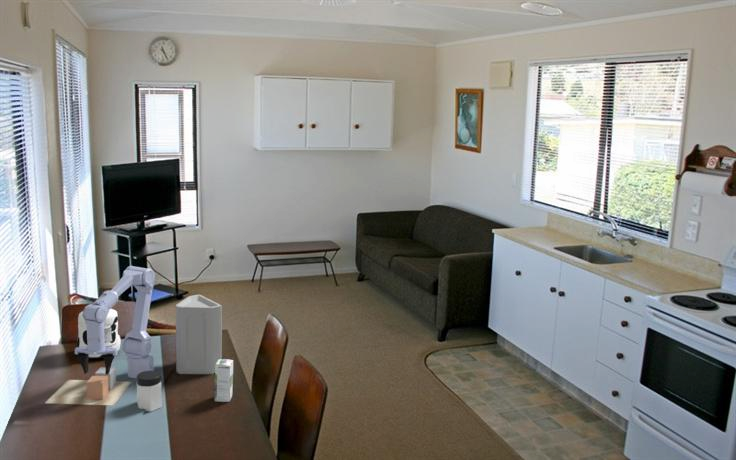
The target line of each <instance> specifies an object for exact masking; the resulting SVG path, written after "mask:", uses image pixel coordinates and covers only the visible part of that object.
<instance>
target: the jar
mask: <svg viewBox="0 0 736 460" xmlns="http://www.w3.org/2000/svg"><path fill="white" fill-rule="evenodd" d="M161 380H162V374H161V372H159V371H157V370H154V371H144V372H141V373H139V374H138V375H137V378H136V404H137V408H138V409H141V410H142V409H143V410H144V412H153V411H156V410H158V409H160V408H162V405H163V403H162V397H163V396H162V381H161Z"/></svg>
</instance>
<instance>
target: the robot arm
mask: <svg viewBox="0 0 736 460" xmlns="http://www.w3.org/2000/svg"><path fill="white" fill-rule="evenodd" d="M155 278H156V274H155V272H154V271H153V269H152V268H149V267H148V268H145V267H140V266H133V265H129V266H127V267H126V268H125V270H124V271H123V273H122V277H121V278H120V279H119V280H118V281H117V283H116V284H115V285H114V286H113V287H112V289H110V290H109V289H108V290H105V291H104V292H102V294H101V295H100V296H99V297H98V298H97V299H96V300H95V301H94V302H92V303H90V304H88V305H86V306H85V307H84V309H83V310H82V312H83V314H82V316H83V318H84V319H85V324H86V325H87V347H77V346H76V347H75V348H74V354H75V355H77V356H76V359H77V360H78V362H79V364H80V365H81V368H82V371H83V374H84V375H86V374H88V372H89V358H88V357H89V354H90V355H95V354H104V355H106V356H105V357H104V358H103V361H104V365H105V366H104V367H105V372H106V374H109V373H110V367H111V366H112V363H113V360H114V358H115V357H116V356H117V355H118V354H119V353H118V352H119V351H118V349H115V348H109V347H105V340H104V320H105V319H106V318H107V315H108V313H109V310H110V309H113V307H114V306H115V305H116V304H117V303H118V302H119V297H120V296H121V295H122V294H124V292H125V291H126V290H128V289H129V288H130V287H132V286H133V287H134V288H135V289H136V290H137V295H136V300H135V306H134V312H133V319H132V326H131V330H130V331H129V332H127V333H126V334H125V337H124V340H123V342H122V345H121V349H122V352H124V353H125V356H126V357H127V358H126V359H127V377H128V378H131V379H137V375H138V374H139V373H141V372H144V371H155V370H154V369H155V368H154V356H153V355H150V352H151V350H152V336H151V335H149V333H148V332H147V327H148V321H149V313H150V306H151V301H152V294H153V289H154V285H155ZM111 368H112V367H111Z"/></svg>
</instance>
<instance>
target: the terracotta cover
mask: <svg viewBox="0 0 736 460" xmlns="http://www.w3.org/2000/svg"><path fill="white" fill-rule="evenodd" d="M87 380H88V381H87V399H101V400H103V399H104V398H105V396H106V395H107V394H108V376H95V375H92V376H91V377H90V378H89V379H87Z"/></svg>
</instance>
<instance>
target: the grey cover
mask: <svg viewBox="0 0 736 460" xmlns="http://www.w3.org/2000/svg"><path fill="white" fill-rule="evenodd" d="M94 376H108V390H111V389H112V388H113V387H114V386H115V384H116V381H117V380H116V379H117V369H116V367H110V373H109V374H106V372H105V366H101V367H99V368H98V369H97V370H96V371H95V373H94Z"/></svg>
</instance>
